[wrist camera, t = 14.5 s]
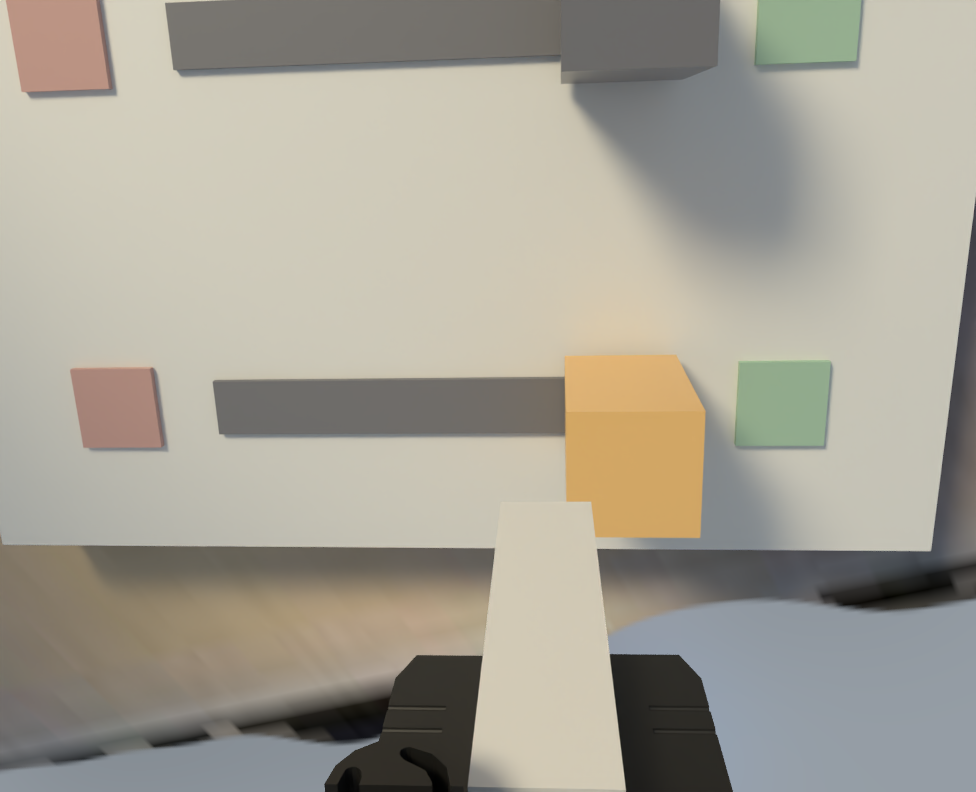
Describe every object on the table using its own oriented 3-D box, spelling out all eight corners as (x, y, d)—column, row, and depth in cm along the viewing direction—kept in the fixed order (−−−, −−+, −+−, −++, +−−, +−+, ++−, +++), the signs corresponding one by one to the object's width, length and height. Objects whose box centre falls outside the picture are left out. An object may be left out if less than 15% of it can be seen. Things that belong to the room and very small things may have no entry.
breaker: (560, 83, 22) (561, 71, 17) (559, -48, 21) (560, -101, 16) (682, 79, 22) (717, 65, 17) (686, -55, 21) (724, -109, 16)
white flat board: (55, 505, 30) (-1, 547, 27) (-61, -112, 25) (-147, -146, 22) (892, 508, 28) (933, 554, 25) (968, -172, 23) (1032, -219, 20)
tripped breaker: (565, 458, 25) (566, 537, 20) (564, 355, 24) (566, 412, 19) (672, 458, 25) (700, 537, 20) (676, 354, 24) (705, 411, 19)
